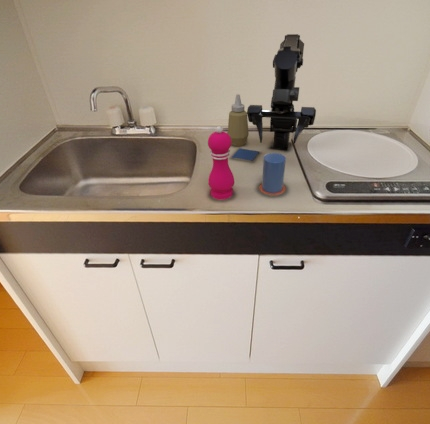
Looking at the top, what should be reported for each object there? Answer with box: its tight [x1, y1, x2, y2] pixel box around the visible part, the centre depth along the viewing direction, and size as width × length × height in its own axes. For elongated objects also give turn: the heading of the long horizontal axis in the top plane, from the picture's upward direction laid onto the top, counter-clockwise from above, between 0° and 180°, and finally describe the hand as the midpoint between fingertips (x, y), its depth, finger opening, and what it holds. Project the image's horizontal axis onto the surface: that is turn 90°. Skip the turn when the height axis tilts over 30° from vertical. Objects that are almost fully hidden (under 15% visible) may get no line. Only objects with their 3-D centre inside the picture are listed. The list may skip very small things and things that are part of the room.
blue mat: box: [231, 148, 260, 162], centre depth 100 cm, size 8×8×1 cm
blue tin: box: [261, 152, 287, 193], centre depth 79 cm, size 6×6×10 cm
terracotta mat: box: [258, 183, 286, 196], centre depth 82 cm, size 8×8×1 cm
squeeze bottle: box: [227, 93, 250, 147], centre depth 104 cm, size 8×8×18 cm
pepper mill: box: [207, 125, 235, 200], centre depth 75 cm, size 7×7×20 cm
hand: (277, 143), depth 79 cm, fingers open, 9 cm apart
